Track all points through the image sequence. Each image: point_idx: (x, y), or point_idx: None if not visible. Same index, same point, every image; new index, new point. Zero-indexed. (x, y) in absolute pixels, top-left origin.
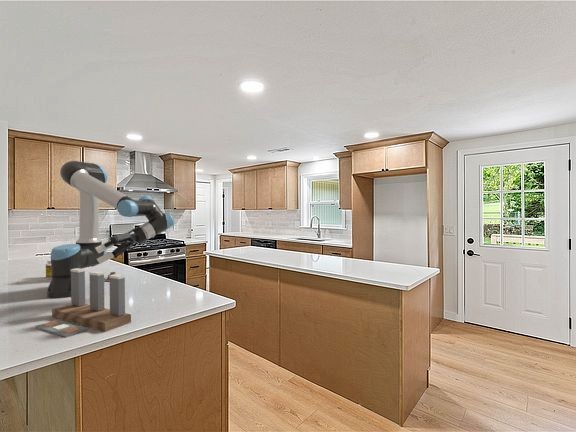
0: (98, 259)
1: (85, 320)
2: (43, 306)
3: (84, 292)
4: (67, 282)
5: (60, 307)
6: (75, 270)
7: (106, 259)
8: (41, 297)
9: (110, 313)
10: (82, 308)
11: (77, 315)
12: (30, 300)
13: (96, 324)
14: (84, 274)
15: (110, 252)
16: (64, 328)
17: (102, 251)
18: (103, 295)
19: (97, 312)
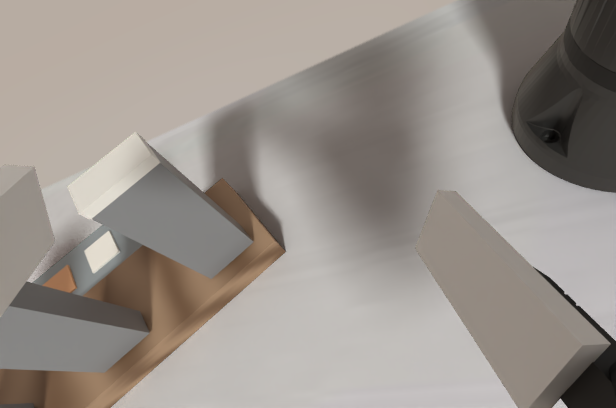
0: (437, 212)
1: None
2: (380, 119)
3: (177, 260)
4: (562, 92)
5: (229, 197)
6: (94, 168)
7: (457, 302)
8: (536, 56)
9: (28, 405)
10: (173, 279)
11: (101, 281)
12: (489, 44)
13: None
14: (106, 225)
15: (558, 341)
16: (87, 264)
17: (23, 274)
18: (46, 366)
19: None
